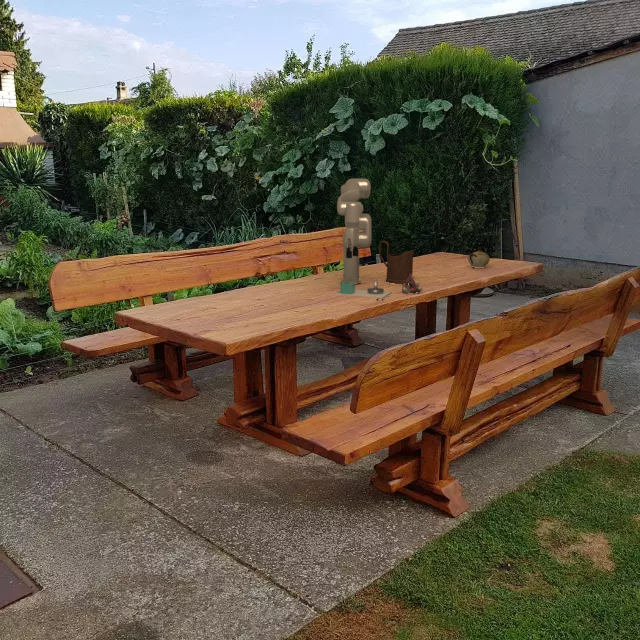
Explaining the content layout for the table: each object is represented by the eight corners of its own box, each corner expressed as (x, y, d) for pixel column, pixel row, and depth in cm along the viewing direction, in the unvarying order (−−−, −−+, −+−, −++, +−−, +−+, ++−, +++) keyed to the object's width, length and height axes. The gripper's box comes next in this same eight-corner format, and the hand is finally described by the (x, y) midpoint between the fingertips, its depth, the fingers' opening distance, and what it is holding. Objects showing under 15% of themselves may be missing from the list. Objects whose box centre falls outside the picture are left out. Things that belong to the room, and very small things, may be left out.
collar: (344, 291, 378) (344, 282, 377) (354, 292, 376) (355, 282, 375) (340, 293, 373) (340, 283, 371) (351, 294, 370) (351, 284, 369)
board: (346, 291, 389) (346, 288, 389) (391, 294, 379) (391, 291, 379) (334, 296, 372) (334, 294, 371) (381, 300, 362) (381, 297, 362)
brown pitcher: (404, 286, 406) (405, 244, 400) (371, 282, 420) (371, 241, 415) (419, 282, 420) (421, 242, 415) (386, 278, 434) (387, 239, 429)
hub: (370, 290, 381) (370, 279, 380) (385, 292, 378) (385, 280, 377) (365, 293, 373) (365, 282, 372) (380, 294, 370) (381, 283, 369)
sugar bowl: (478, 265, 491) (479, 245, 488) (495, 268, 480) (496, 247, 477) (461, 268, 479) (462, 247, 476) (477, 270, 468) (479, 249, 465)
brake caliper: (394, 288, 385) (406, 270, 386) (407, 298, 390) (418, 281, 391) (405, 291, 375) (417, 273, 376) (418, 301, 380) (430, 284, 381)
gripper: (351, 224, 375) (351, 255, 379) (340, 226, 360) (340, 258, 363) (364, 224, 372) (364, 255, 376) (353, 226, 357) (353, 259, 360)
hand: (352, 257), depth 369 cm, fingers open, 9 cm apart
